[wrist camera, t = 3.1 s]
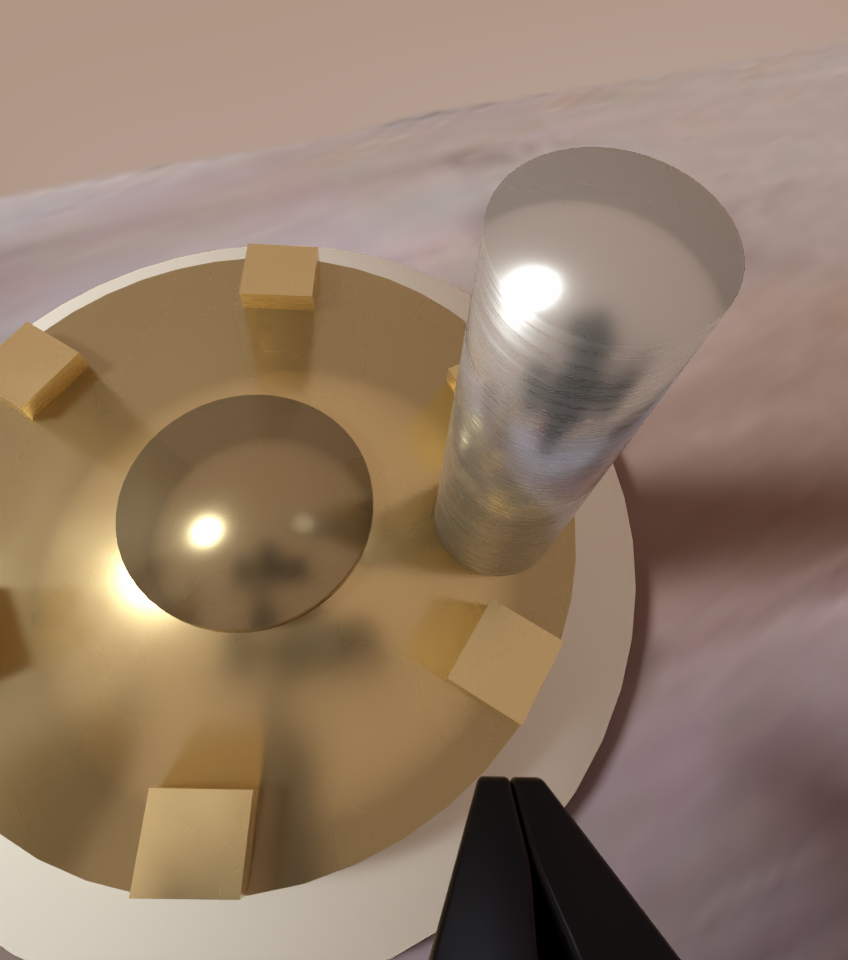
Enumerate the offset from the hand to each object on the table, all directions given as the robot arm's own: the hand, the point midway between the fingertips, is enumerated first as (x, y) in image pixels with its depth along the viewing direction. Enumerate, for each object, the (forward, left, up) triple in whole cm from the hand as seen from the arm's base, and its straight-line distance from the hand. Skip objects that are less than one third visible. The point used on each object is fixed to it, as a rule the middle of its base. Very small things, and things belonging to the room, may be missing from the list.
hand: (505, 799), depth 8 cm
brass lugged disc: (+8, +2, -7) cm, 11 cm away
